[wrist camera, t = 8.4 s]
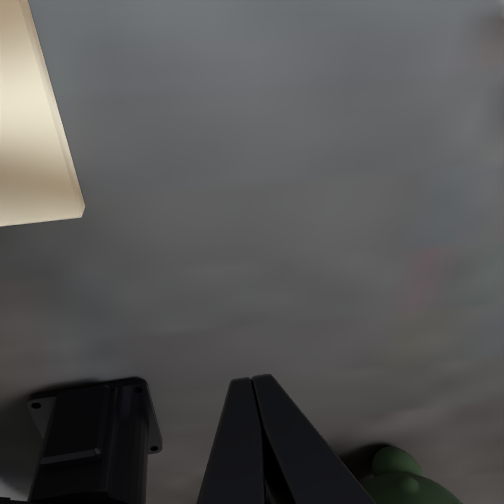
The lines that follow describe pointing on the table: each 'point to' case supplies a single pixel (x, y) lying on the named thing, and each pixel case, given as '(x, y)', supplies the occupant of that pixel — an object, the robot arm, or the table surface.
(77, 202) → the dial board
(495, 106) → the table surface
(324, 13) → the table surface
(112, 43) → the table surface
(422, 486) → the toy figurine
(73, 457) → the robot arm
